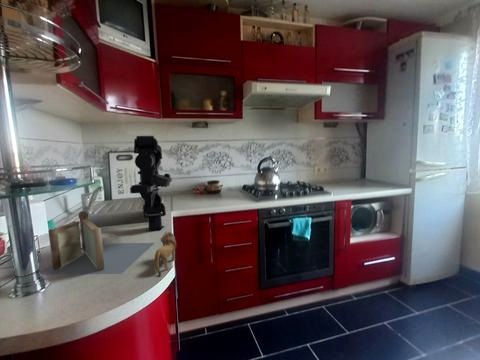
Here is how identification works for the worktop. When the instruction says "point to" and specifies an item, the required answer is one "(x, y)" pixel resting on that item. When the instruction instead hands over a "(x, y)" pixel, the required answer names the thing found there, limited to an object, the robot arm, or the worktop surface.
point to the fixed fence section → (67, 242)
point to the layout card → (114, 260)
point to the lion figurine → (165, 251)
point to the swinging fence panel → (93, 243)
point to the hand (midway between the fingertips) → (150, 207)
